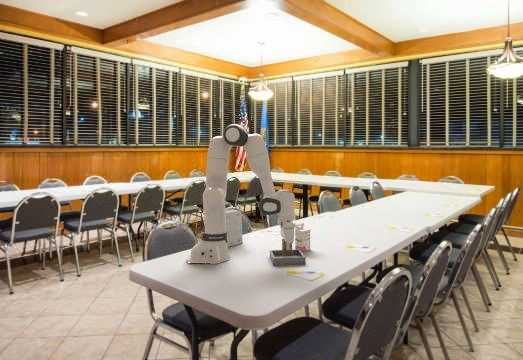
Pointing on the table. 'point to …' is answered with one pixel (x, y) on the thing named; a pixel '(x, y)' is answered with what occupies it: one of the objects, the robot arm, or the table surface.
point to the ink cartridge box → (302, 238)
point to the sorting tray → (287, 257)
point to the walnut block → (284, 251)
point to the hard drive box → (234, 227)
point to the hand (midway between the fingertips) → (286, 248)
